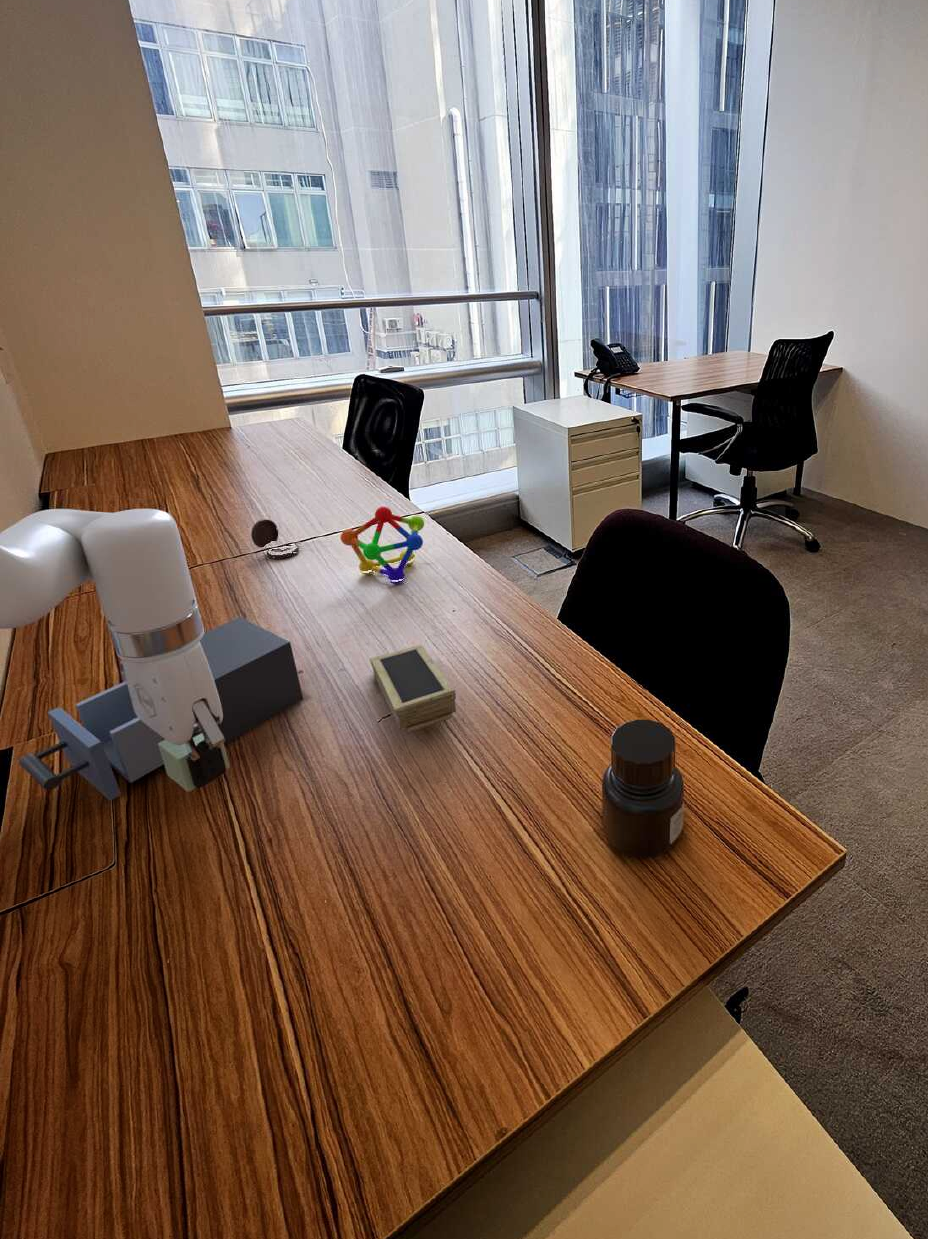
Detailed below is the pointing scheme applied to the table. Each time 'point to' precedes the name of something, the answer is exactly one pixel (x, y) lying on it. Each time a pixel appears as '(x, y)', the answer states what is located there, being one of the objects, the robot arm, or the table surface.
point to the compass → (269, 537)
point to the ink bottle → (642, 790)
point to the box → (414, 688)
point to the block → (182, 761)
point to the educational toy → (374, 551)
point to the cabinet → (250, 674)
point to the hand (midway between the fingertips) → (198, 768)
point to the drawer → (100, 743)
